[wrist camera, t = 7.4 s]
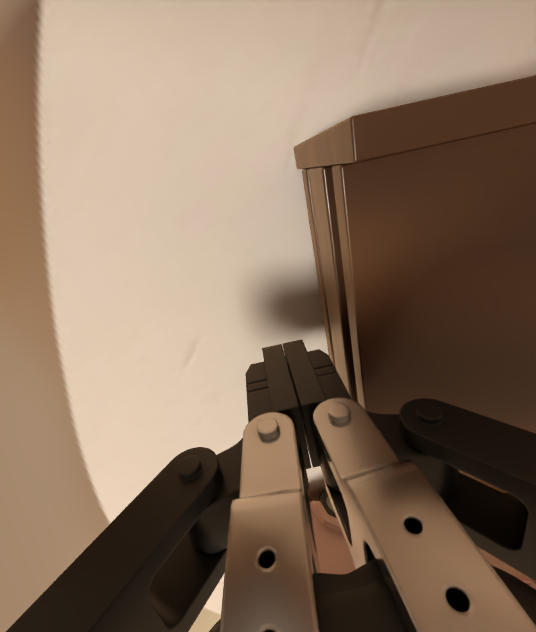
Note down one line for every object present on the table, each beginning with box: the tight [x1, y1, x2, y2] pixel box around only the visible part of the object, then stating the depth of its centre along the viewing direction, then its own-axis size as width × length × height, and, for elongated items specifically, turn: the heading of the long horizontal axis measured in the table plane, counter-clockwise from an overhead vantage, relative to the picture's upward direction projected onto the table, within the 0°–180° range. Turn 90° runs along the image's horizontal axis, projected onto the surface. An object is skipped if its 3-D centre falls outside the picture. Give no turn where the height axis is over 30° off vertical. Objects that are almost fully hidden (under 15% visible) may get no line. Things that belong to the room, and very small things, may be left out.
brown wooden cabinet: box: [294, 75, 536, 501], centre depth 12 cm, size 14×8×7 cm, turn 11°
